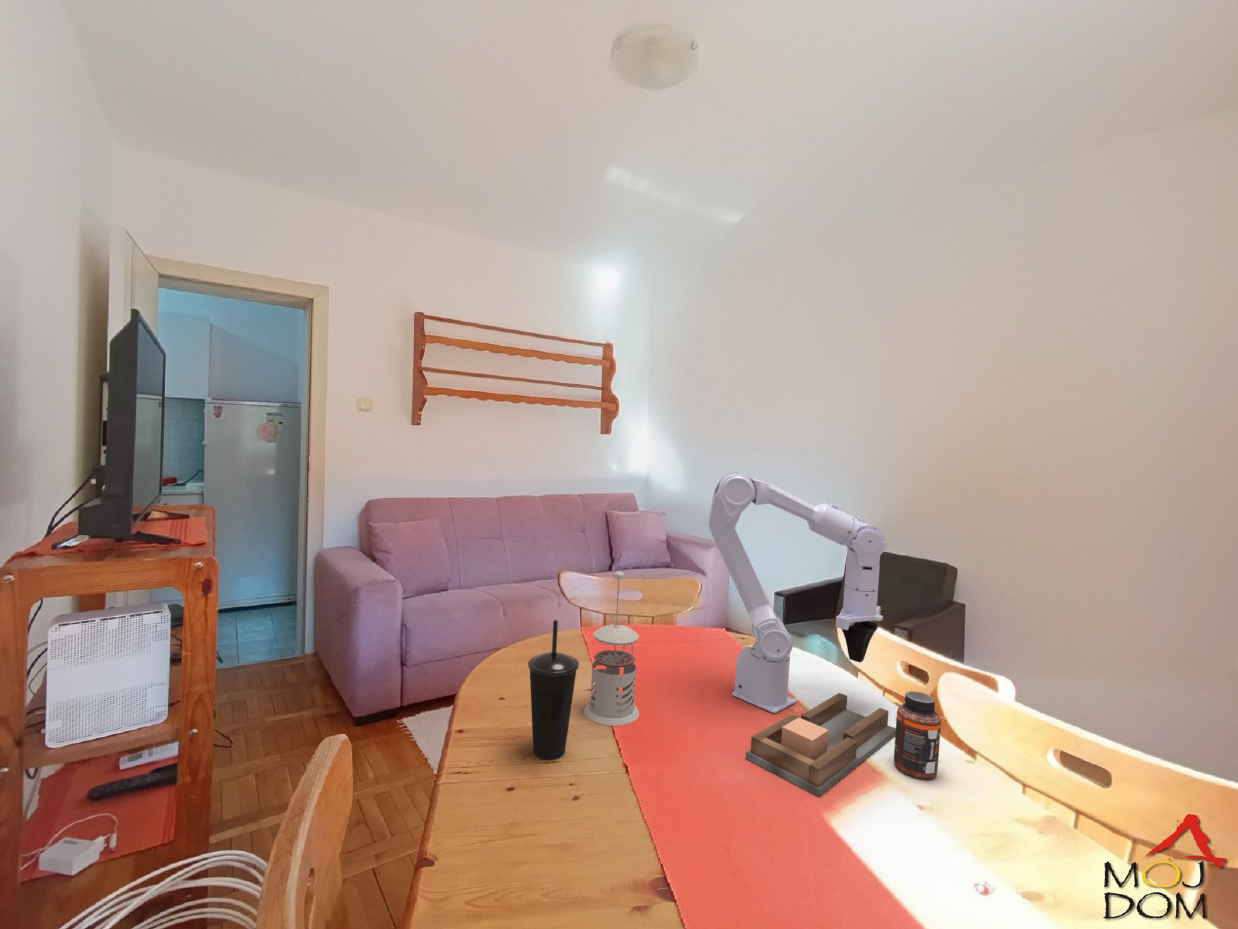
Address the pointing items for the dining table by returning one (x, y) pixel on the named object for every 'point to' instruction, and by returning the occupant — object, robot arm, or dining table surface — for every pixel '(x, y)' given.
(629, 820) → the dining table surface
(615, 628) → the french press
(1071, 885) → the dining table surface
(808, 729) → the block
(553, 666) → the drinking cup
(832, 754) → the walled tray
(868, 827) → the dining table surface
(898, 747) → the supplement bottle
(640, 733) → the dining table surface
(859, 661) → the robot arm
